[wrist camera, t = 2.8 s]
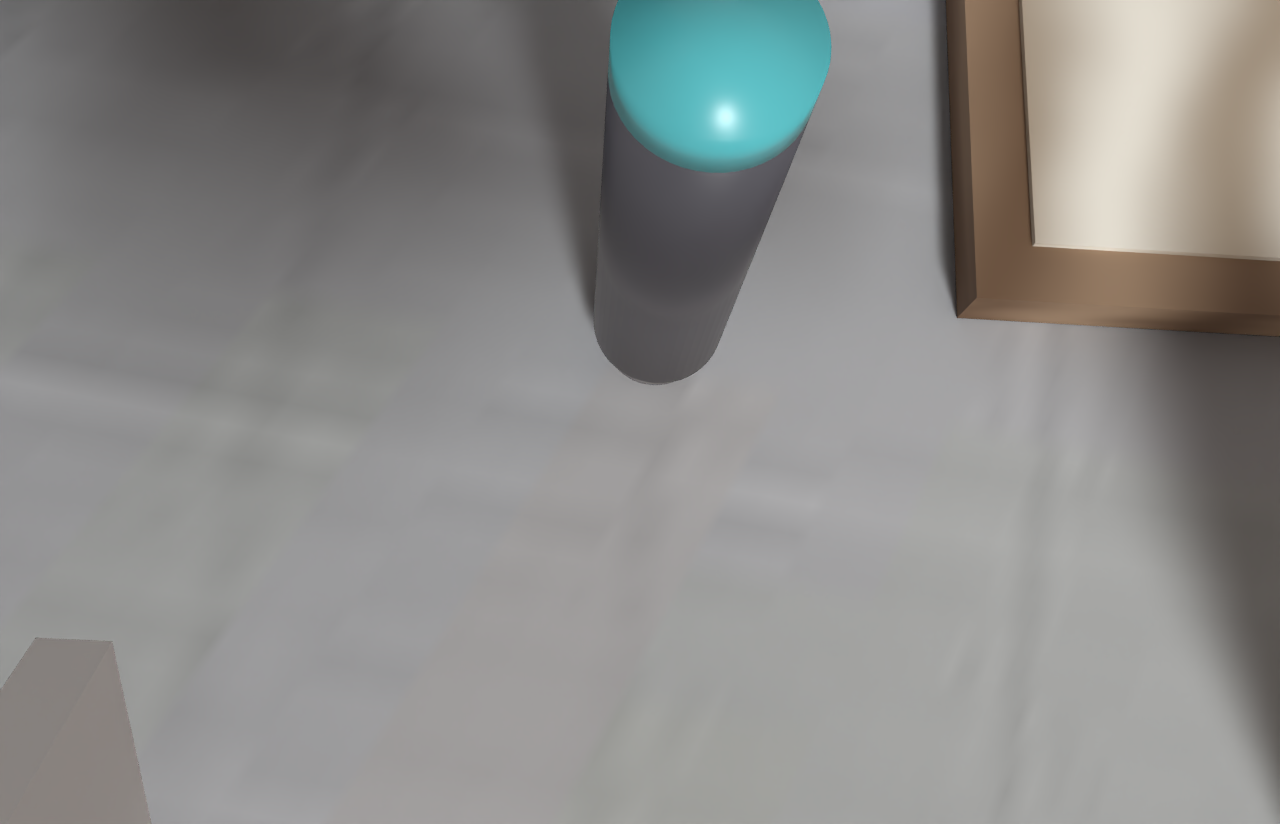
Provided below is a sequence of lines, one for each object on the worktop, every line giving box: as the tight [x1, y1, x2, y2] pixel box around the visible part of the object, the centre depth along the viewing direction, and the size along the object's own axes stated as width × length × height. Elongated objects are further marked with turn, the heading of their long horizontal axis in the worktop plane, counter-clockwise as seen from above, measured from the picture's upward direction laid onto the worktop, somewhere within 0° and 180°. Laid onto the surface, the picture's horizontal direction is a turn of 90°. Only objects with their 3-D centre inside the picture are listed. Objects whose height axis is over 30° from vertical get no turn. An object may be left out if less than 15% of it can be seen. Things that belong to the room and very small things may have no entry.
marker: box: [594, 0, 831, 385], centre depth 23 cm, size 3×3×13 cm
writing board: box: [946, 0, 1280, 336], centre depth 31 cm, size 16×16×2 cm
